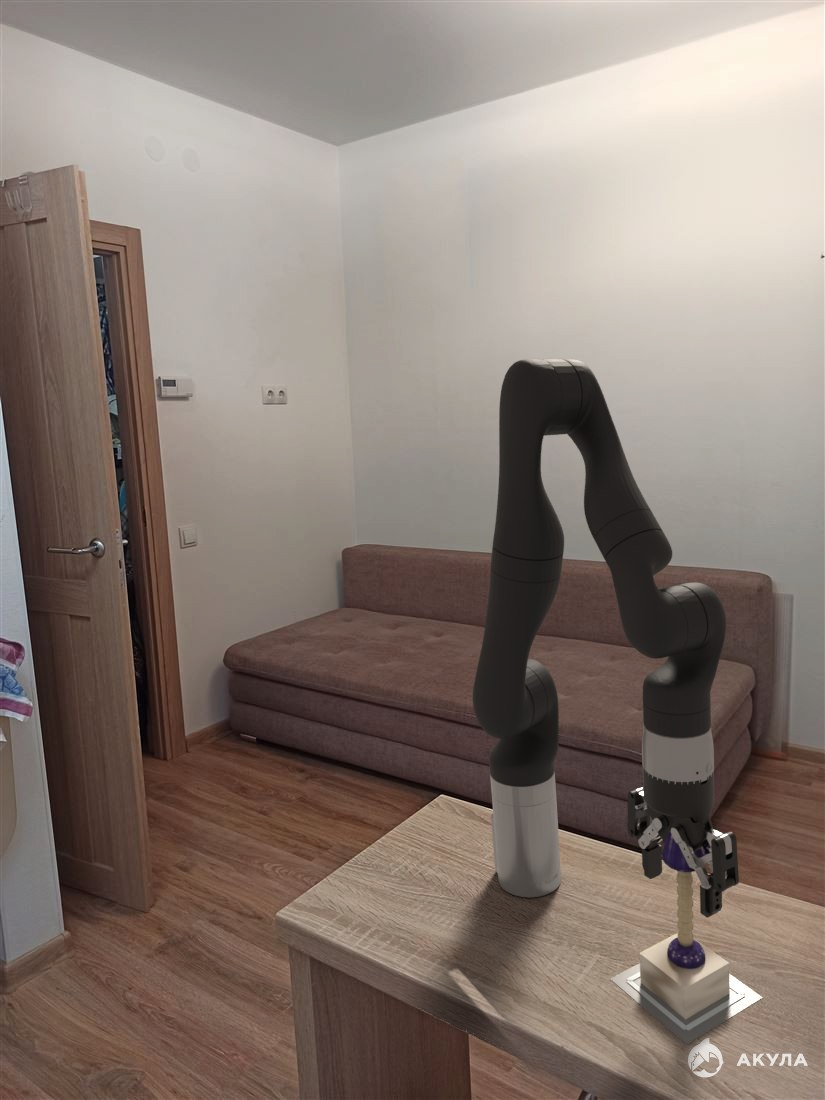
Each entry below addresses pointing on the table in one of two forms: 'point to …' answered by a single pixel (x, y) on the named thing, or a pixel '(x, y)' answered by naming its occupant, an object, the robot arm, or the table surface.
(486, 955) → the table surface
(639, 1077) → the table surface
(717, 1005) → the slate board
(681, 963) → the toy lamp
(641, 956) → the cream block
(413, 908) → the table surface
